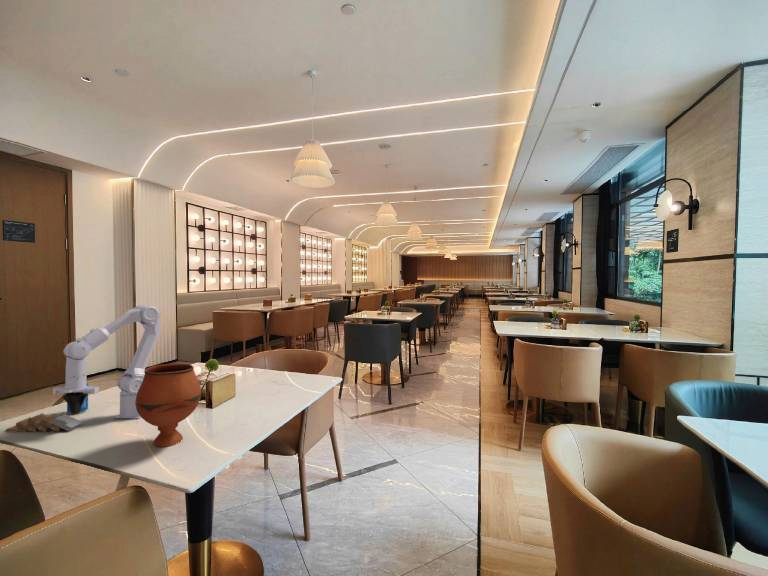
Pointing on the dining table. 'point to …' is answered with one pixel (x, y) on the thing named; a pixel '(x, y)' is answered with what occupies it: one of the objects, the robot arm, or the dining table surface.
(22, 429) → the walnut end tile
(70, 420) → the slate head tile
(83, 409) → the beverage can
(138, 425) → the dining table surface
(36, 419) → the walnut tile
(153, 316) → the robot arm
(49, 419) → the walnut tile
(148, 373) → the goblet
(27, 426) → the walnut tile
